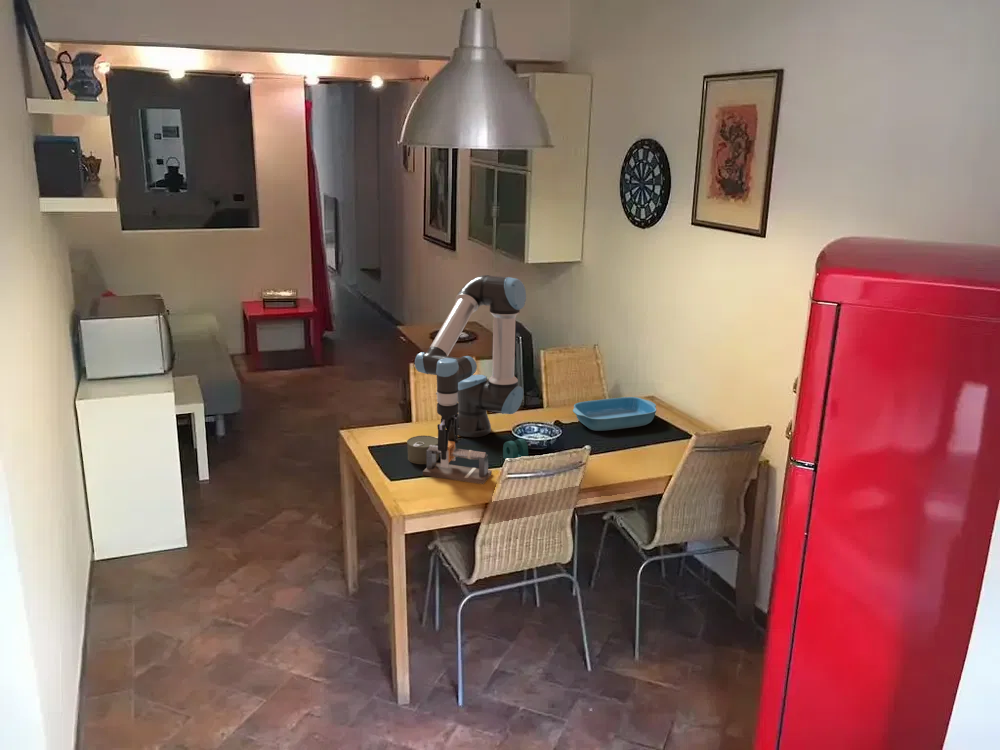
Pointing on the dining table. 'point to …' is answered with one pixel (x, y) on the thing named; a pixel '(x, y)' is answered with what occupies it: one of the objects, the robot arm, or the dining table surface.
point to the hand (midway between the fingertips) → (448, 463)
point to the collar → (450, 445)
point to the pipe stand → (458, 471)
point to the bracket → (515, 448)
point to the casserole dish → (615, 413)
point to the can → (420, 448)
